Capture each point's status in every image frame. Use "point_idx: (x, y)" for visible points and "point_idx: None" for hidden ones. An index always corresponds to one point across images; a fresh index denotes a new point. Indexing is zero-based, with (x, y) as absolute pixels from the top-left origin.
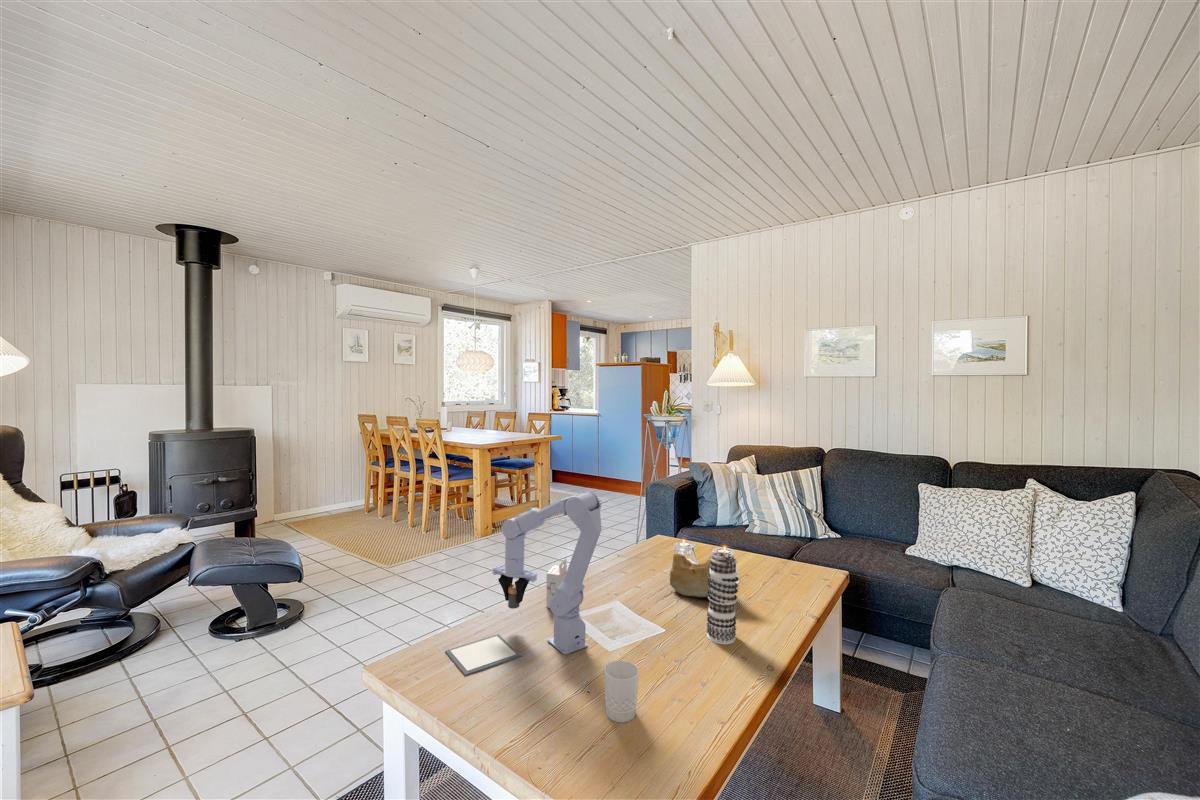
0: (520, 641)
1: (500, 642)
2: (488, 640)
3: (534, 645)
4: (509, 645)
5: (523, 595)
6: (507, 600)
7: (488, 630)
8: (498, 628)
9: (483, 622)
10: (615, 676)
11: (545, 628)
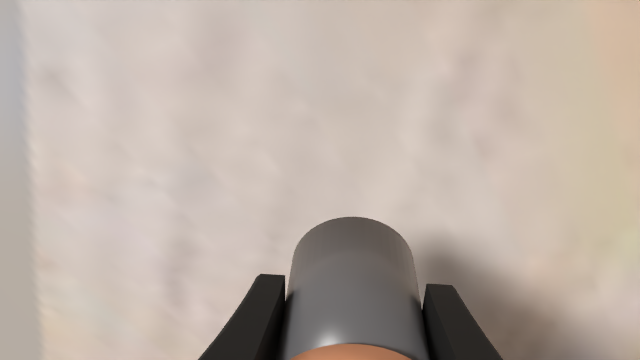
0: (485, 288)
1: None
2: None
3: (590, 299)
4: None
5: (479, 328)
6: None
7: (218, 247)
8: (261, 206)
9: (107, 172)
10: None
11: (617, 80)
